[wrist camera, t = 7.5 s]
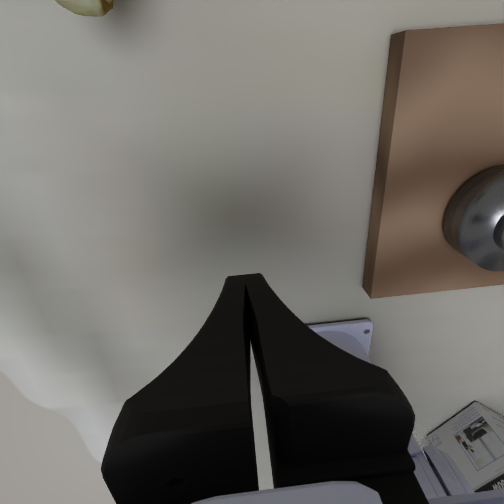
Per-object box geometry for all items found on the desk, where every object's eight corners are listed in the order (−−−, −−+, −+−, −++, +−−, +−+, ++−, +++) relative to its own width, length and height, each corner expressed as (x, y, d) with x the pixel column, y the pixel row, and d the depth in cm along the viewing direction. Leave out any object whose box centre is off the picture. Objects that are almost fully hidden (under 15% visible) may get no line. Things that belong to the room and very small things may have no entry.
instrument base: (538, 268, 25) (580, 292, 22) (362, 286, 24) (381, 314, 21) (642, 16, 17) (726, 3, 14) (391, 34, 17) (426, 24, 14)
